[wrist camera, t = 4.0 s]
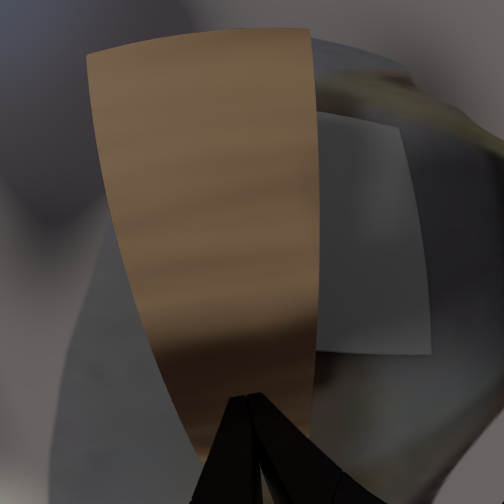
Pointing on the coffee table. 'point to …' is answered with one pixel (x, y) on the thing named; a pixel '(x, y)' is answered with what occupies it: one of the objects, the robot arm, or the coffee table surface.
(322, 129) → the mat
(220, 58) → the block
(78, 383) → the coffee table surface
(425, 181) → the coffee table surface
